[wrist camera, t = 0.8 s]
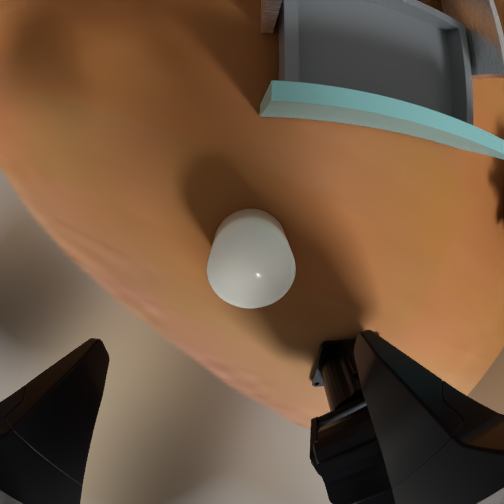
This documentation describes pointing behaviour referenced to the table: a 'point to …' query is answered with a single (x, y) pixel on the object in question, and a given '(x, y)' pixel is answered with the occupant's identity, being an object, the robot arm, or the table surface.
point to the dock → (461, 9)
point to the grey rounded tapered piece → (250, 260)
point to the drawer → (378, 70)
